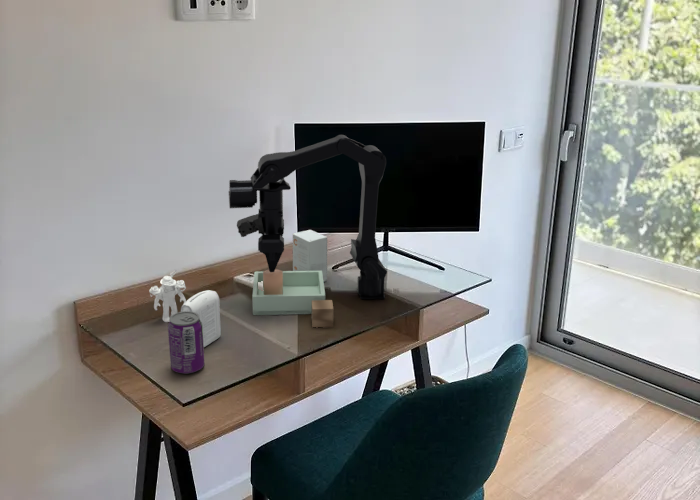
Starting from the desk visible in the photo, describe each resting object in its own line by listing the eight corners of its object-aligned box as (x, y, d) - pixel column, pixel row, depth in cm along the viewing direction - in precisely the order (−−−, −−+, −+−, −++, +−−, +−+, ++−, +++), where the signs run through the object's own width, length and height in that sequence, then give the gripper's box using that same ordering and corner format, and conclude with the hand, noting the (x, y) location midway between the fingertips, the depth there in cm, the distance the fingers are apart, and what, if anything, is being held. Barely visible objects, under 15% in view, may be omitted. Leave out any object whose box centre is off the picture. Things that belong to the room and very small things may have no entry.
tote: (321, 287, 198) (321, 270, 196) (325, 313, 183) (325, 295, 181) (255, 288, 196) (254, 271, 194) (252, 315, 181) (252, 296, 180)
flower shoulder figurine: (184, 311, 183) (181, 266, 178) (191, 316, 180) (188, 272, 175) (149, 320, 178) (145, 274, 173) (156, 326, 175) (152, 280, 170)
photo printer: (209, 332, 173) (206, 284, 168) (223, 336, 171) (221, 288, 166) (180, 350, 164) (176, 300, 160) (195, 355, 162) (191, 304, 158)
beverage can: (210, 363, 159) (208, 313, 155) (193, 378, 153) (190, 327, 148) (182, 357, 161) (178, 308, 157) (164, 372, 155) (160, 321, 151)
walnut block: (331, 318, 181) (331, 300, 179) (333, 327, 176) (333, 308, 174) (311, 318, 180) (311, 300, 179) (312, 328, 176) (312, 309, 174)
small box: (327, 281, 202) (328, 237, 197) (309, 286, 198) (309, 241, 194) (310, 271, 208) (310, 228, 203) (292, 277, 204) (291, 233, 199)
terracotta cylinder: (263, 293, 191) (263, 269, 188) (283, 293, 191) (282, 268, 189) (263, 301, 186) (262, 276, 184) (283, 301, 187) (282, 276, 184)
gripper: (240, 195, 188) (242, 251, 194) (236, 218, 171) (238, 279, 176) (283, 195, 189) (284, 251, 195) (283, 218, 172) (284, 279, 177)
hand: (272, 264), depth 186 cm, fingers open, 9 cm apart
